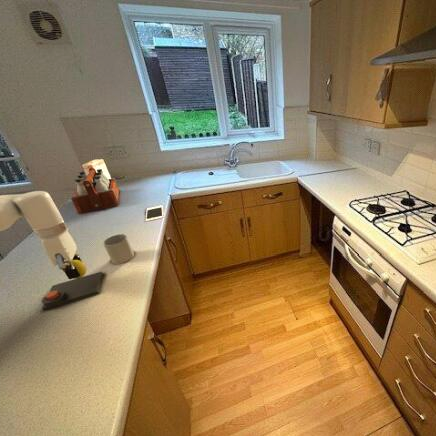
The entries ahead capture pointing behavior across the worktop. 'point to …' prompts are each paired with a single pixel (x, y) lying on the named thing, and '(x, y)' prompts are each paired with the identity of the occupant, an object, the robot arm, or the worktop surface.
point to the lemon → (79, 267)
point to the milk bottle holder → (95, 191)
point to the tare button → (52, 295)
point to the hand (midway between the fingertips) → (76, 271)
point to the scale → (74, 290)
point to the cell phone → (154, 213)
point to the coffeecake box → (96, 167)
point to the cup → (118, 248)
